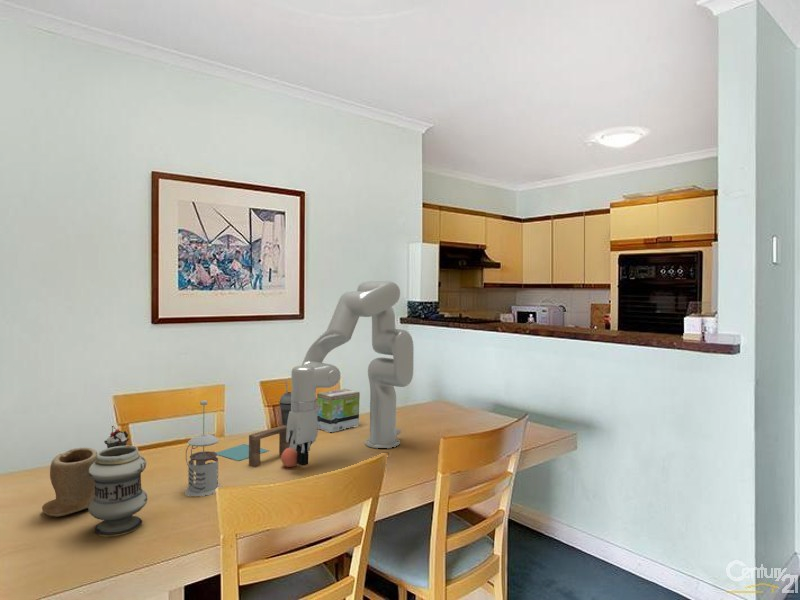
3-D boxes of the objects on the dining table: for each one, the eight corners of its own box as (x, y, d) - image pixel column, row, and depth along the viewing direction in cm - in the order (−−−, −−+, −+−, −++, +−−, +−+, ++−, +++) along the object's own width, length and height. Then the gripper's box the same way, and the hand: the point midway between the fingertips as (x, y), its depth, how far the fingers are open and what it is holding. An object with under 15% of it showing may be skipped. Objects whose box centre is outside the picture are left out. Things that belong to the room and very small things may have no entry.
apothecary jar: (77, 530, 117) (77, 452, 116) (128, 511, 127) (129, 439, 127) (106, 544, 110) (106, 462, 110) (157, 523, 120) (158, 448, 120)
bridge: (248, 465, 161) (249, 435, 161) (283, 453, 174) (283, 425, 174) (255, 467, 160) (255, 436, 160) (289, 455, 172) (290, 426, 172)
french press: (199, 499, 134) (199, 405, 134) (172, 490, 141) (173, 400, 140) (229, 488, 143) (230, 399, 142) (203, 479, 149) (203, 394, 149)
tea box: (331, 433, 199) (332, 396, 199) (315, 428, 206) (316, 392, 206) (359, 426, 210) (360, 391, 210) (343, 422, 217) (344, 387, 217)
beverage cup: (293, 434, 197) (293, 383, 197) (275, 433, 198) (276, 382, 198) (300, 429, 204) (301, 380, 204) (283, 428, 205) (284, 379, 205)
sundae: (103, 479, 148) (103, 428, 148) (104, 471, 154) (104, 422, 154) (128, 475, 151) (129, 425, 151) (129, 468, 157) (129, 420, 157)
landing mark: (244, 444, 183) (244, 443, 183) (269, 450, 176) (269, 450, 176) (213, 453, 172) (213, 453, 172) (238, 461, 165) (238, 460, 165)
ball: (305, 463, 162) (290, 461, 165) (303, 445, 162) (288, 443, 165) (293, 471, 157) (278, 469, 160) (291, 452, 157) (276, 450, 159)
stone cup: (55, 525, 119) (55, 462, 118) (36, 512, 126) (36, 452, 126) (122, 504, 131) (122, 446, 131) (101, 493, 138) (101, 438, 138)
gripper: (310, 400, 167) (309, 455, 167) (277, 408, 154) (276, 468, 154) (328, 403, 163) (327, 460, 163) (295, 411, 150) (294, 473, 150)
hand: (302, 464), depth 159 cm, fingers closed
